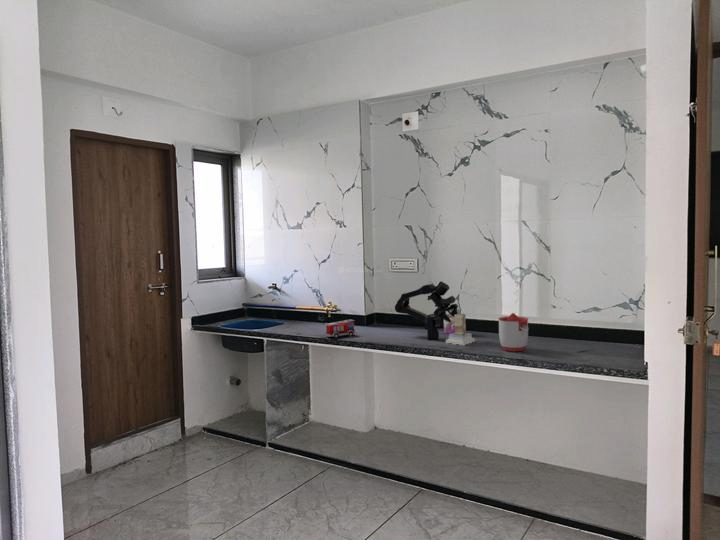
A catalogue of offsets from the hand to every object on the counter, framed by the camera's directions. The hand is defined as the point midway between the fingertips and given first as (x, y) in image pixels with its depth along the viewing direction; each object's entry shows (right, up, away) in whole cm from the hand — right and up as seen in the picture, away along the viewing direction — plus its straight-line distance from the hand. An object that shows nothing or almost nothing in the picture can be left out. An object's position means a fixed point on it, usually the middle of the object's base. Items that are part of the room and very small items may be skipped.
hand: (454, 320), depth 323 cm
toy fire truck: (-68, -13, +30) cm, 75 cm away
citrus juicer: (+28, -14, -25) cm, 40 cm away
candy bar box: (+3, -11, +25) cm, 28 cm away
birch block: (+3, -9, -2) cm, 9 cm away
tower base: (+3, -13, -2) cm, 13 cm away
